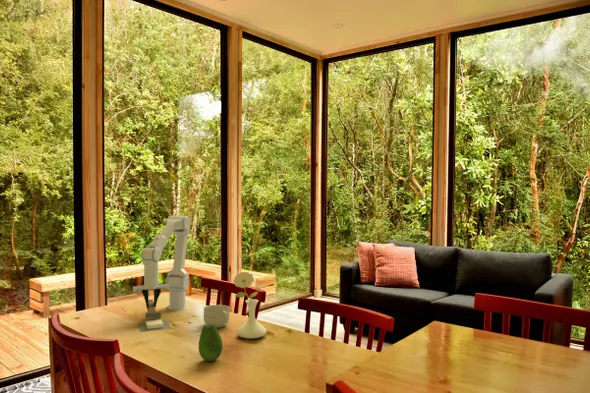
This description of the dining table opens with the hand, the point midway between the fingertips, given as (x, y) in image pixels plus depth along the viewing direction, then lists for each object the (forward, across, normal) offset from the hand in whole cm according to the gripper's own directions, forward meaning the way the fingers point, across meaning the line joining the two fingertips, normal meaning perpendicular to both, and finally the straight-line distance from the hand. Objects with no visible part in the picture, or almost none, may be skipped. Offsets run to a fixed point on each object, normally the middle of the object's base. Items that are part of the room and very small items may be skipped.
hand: (151, 307), depth 197 cm
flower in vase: (+6, +32, -37) cm, 49 cm away
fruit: (+6, +12, -56) cm, 58 cm away
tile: (+4, 0, -7) cm, 8 cm away
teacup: (+6, +24, -20) cm, 32 cm away
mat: (+6, 0, -10) cm, 12 cm away
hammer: (+3, 0, 0) cm, 3 cm away
